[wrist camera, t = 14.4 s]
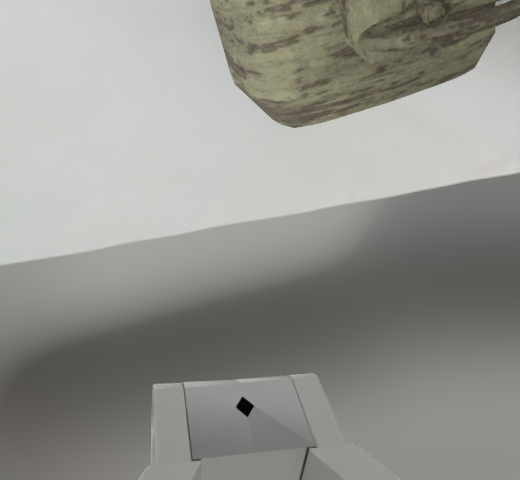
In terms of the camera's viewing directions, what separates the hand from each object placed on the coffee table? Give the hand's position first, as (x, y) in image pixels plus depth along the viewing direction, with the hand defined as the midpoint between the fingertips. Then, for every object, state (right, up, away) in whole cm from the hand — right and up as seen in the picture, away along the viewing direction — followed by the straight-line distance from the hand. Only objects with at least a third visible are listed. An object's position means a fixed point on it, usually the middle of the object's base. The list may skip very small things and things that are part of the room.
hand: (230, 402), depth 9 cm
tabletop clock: (+3, +22, +29) cm, 37 cm away
